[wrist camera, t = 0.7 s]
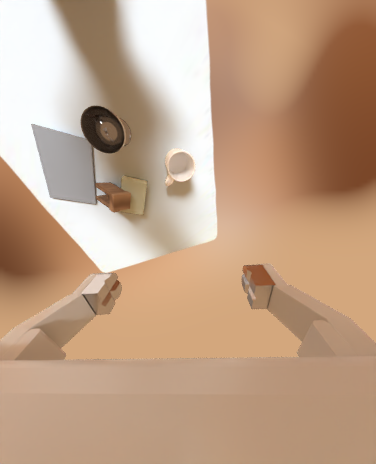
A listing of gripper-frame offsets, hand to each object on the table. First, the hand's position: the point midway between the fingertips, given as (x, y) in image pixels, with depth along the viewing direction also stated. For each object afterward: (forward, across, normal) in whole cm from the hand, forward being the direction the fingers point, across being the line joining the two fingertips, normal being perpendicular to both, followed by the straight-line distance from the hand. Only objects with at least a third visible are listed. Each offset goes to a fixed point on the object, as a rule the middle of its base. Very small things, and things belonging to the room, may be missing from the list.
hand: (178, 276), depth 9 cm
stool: (+43, +27, 0) cm, 51 cm away
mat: (+40, +37, -8) cm, 55 cm away
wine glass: (+42, +20, -16) cm, 49 cm away
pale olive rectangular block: (+45, +21, +2) cm, 50 cm away
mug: (+48, +5, -6) cm, 48 cm away
